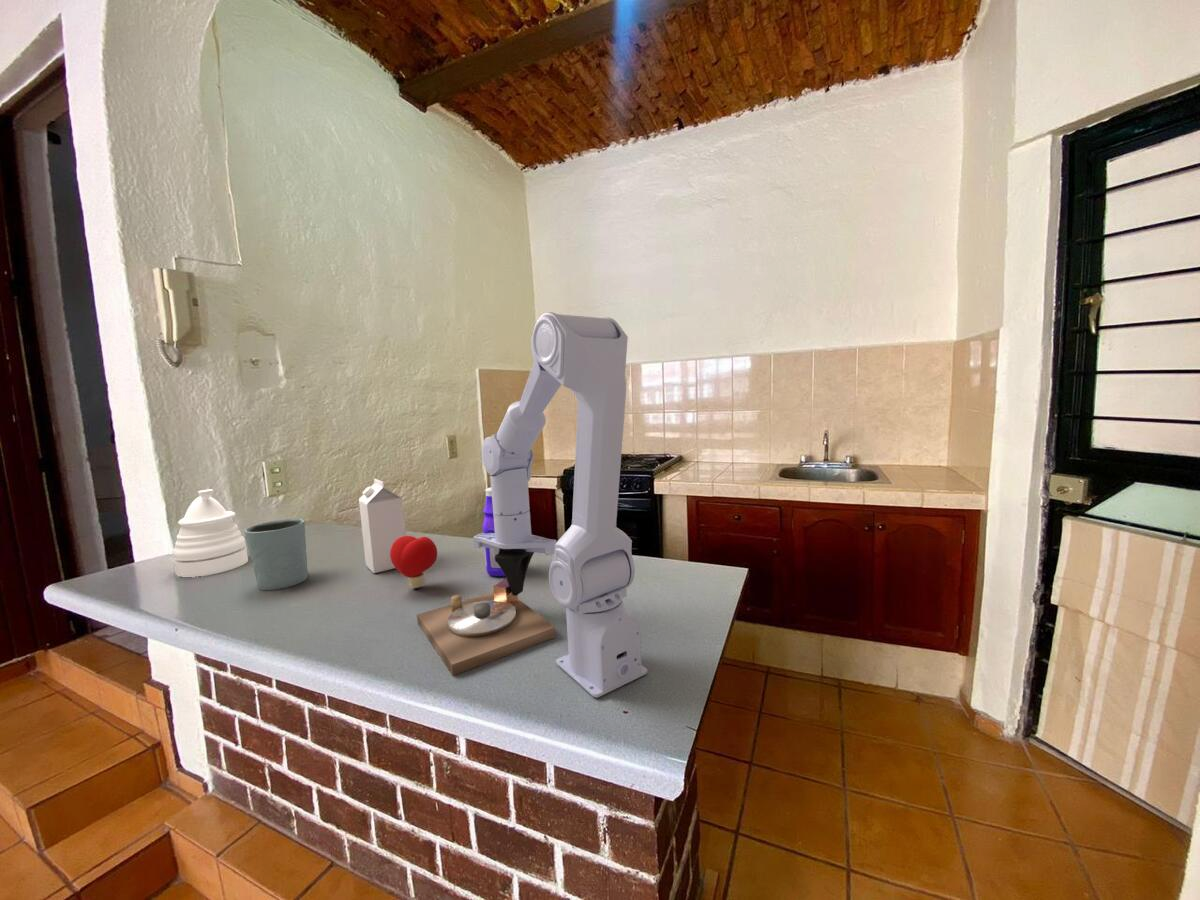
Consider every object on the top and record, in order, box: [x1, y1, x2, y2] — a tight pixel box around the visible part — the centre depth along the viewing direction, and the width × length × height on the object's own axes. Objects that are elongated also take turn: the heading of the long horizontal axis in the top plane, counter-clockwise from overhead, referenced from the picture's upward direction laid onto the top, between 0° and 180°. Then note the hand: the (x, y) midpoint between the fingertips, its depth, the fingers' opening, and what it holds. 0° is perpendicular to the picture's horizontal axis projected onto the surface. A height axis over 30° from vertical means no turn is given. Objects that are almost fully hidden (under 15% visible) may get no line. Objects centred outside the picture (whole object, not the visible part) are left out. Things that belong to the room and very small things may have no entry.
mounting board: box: [416, 591, 557, 677], centre depth 71 cm, size 18×15×4 cm
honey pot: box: [172, 488, 249, 578], centre depth 106 cm, size 13×13×18 cm
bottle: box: [482, 486, 506, 578], centre depth 94 cm, size 7×6×17 cm
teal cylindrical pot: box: [244, 518, 309, 591], centre depth 95 cm, size 10×10×12 cm
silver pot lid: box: [448, 578, 519, 637], centre depth 72 cm, size 12×10×3 cm
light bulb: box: [390, 535, 438, 590], centre depth 88 cm, size 9×7×10 cm
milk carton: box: [358, 478, 407, 574], centre depth 101 cm, size 7×7×19 cm
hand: (517, 593), depth 76 cm, fingers closed
